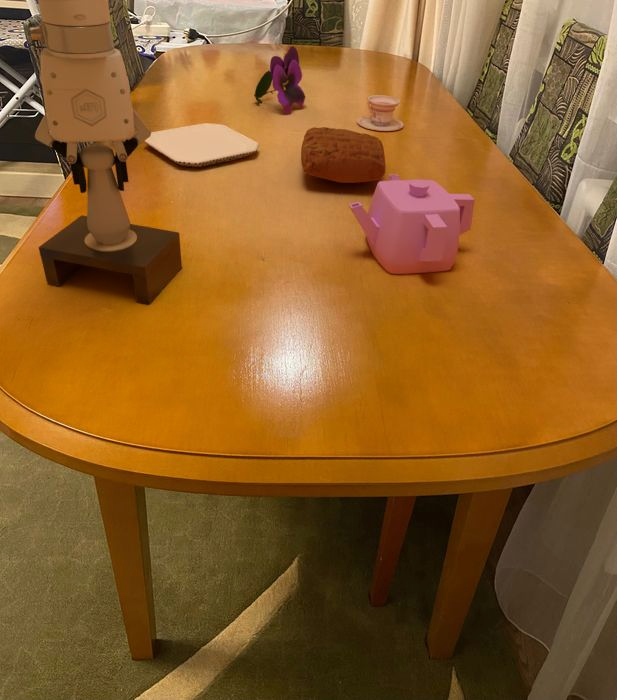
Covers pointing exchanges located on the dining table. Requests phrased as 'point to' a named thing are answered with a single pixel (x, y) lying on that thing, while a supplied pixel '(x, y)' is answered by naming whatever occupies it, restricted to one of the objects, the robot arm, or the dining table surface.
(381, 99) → the teacup
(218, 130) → the plate
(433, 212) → the teakettle
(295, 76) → the flower
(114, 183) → the salt shaker
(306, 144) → the inscribed clay slab
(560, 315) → the dining table surface
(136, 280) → the shelf
